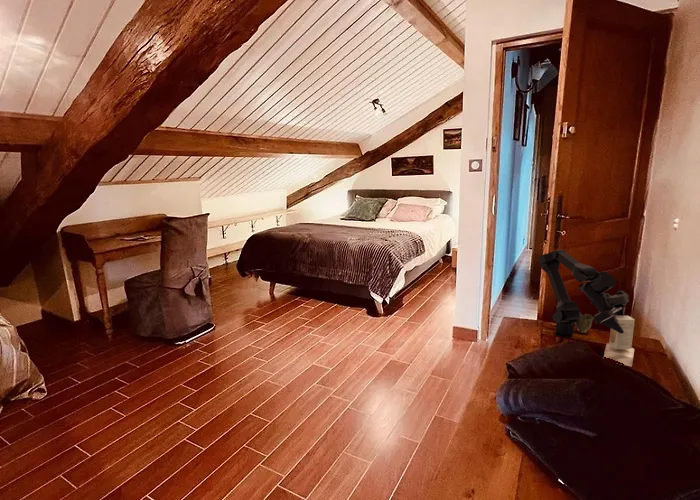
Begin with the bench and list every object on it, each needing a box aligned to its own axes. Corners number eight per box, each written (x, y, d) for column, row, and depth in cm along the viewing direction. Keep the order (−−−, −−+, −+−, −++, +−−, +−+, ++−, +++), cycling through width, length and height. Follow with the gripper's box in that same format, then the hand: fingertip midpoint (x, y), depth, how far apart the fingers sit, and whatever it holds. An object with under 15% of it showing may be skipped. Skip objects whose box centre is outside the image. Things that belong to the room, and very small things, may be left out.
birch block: (603, 360, 152) (604, 351, 151) (606, 351, 159) (607, 342, 158) (631, 367, 146) (633, 357, 146) (633, 358, 153) (634, 348, 152)
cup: (591, 330, 178) (593, 314, 176) (591, 337, 172) (593, 320, 170) (573, 327, 182) (574, 311, 180) (572, 333, 176) (573, 317, 174)
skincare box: (625, 344, 153) (629, 315, 151) (631, 349, 149) (636, 319, 146) (607, 343, 154) (611, 314, 151) (613, 348, 150) (617, 319, 147)
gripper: (606, 291, 143) (638, 328, 138) (623, 280, 155) (653, 313, 149) (581, 305, 151) (610, 341, 145) (598, 294, 163) (626, 326, 157)
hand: (626, 330), depth 149 cm, fingers closed on skincare box, 7 cm apart
